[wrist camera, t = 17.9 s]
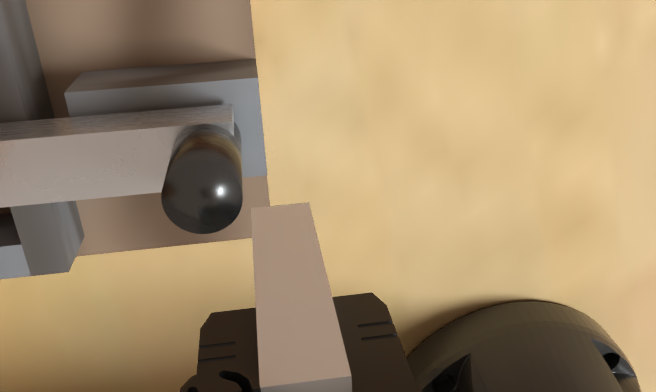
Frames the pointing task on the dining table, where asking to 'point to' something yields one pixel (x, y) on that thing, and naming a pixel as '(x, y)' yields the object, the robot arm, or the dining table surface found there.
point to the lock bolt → (130, 162)
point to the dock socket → (123, 110)
